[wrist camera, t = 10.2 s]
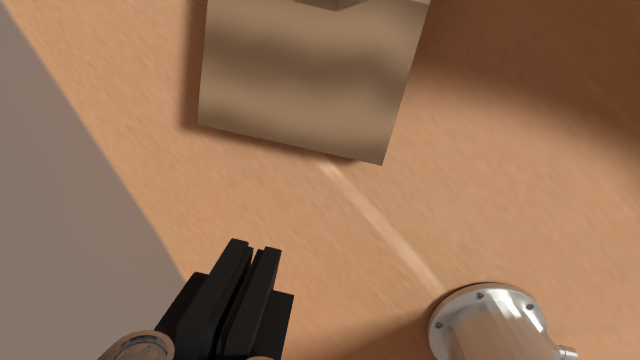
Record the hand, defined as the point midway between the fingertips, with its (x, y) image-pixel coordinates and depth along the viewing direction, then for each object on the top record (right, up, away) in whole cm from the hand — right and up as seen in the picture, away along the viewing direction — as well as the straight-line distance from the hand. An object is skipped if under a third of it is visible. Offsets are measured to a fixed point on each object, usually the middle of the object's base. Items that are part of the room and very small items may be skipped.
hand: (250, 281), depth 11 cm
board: (+3, +18, +17) cm, 25 cm away
